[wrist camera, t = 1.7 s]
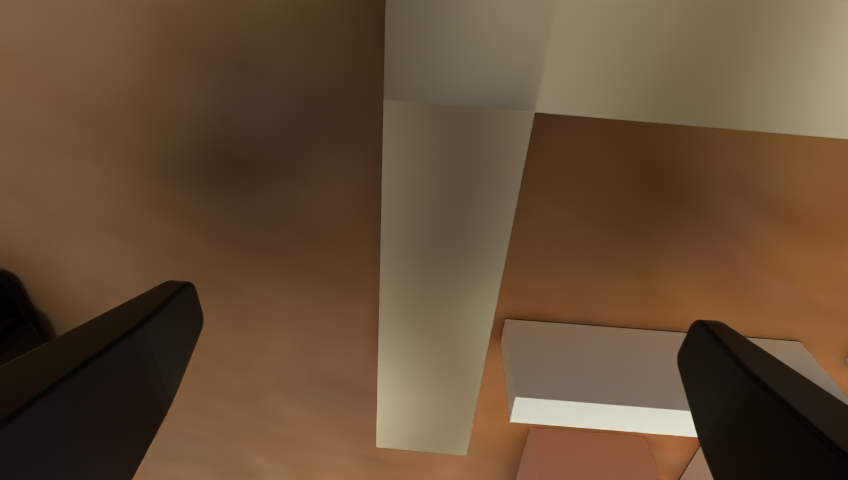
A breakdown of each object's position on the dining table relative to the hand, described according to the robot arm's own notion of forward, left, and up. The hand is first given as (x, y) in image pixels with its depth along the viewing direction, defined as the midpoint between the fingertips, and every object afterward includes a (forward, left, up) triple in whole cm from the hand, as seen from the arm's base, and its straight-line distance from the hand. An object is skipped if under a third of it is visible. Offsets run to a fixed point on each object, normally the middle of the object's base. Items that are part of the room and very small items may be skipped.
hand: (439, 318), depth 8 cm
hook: (+4, -1, -7) cm, 8 cm away
